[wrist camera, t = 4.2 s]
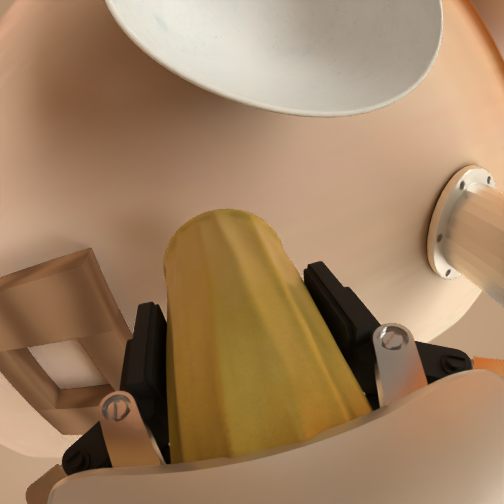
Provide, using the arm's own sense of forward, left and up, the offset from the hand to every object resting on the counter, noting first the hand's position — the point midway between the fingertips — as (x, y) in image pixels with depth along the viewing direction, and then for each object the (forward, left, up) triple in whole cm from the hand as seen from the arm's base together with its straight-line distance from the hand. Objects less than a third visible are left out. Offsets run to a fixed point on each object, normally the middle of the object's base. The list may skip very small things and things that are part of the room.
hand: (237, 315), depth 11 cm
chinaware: (-5, -14, -9) cm, 17 cm away
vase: (0, 0, -4) cm, 4 cm away
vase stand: (+15, +8, -8) cm, 19 cm away
